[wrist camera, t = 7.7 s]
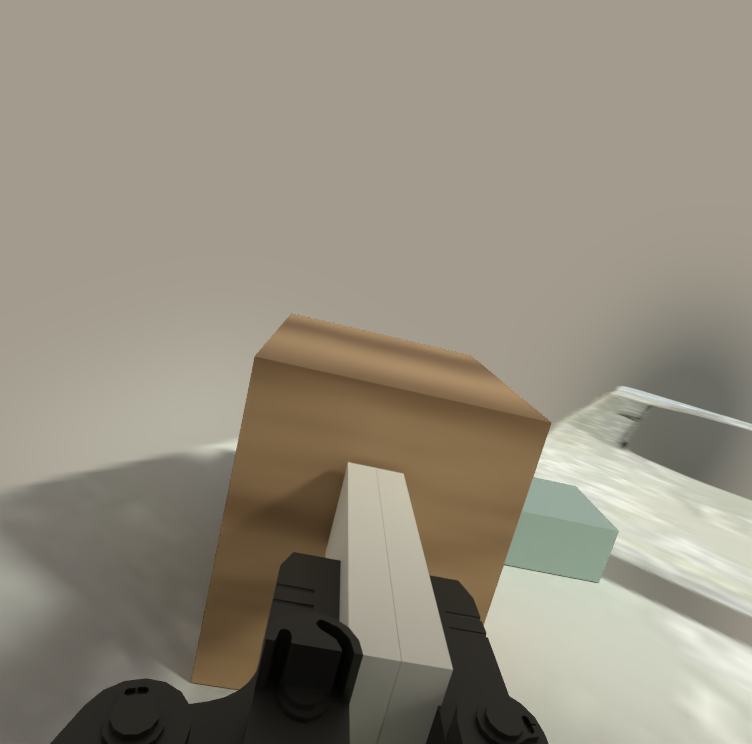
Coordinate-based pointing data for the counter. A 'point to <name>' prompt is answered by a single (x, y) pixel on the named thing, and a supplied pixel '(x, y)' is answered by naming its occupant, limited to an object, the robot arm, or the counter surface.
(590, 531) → the board
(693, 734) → the counter surface
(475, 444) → the block
